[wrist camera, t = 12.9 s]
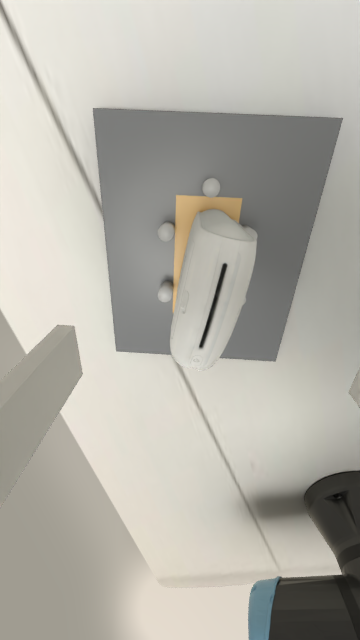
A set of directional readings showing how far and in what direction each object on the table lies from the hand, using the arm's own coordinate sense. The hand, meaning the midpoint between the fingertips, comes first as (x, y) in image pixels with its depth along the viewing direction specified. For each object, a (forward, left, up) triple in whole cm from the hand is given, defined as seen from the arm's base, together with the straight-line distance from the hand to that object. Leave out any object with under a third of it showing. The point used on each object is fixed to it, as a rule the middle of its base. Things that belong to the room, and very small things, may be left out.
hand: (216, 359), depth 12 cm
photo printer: (0, 0, -16) cm, 16 cm away
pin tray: (0, 0, -17) cm, 17 cm away
